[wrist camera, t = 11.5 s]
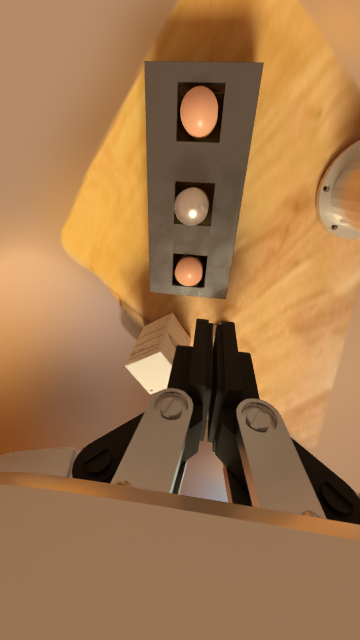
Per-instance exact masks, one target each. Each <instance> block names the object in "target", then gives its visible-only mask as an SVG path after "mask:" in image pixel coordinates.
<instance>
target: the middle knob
mask: <svg viewBox="0 0 360 640" xmlns="http://www.w3.org/2000/svg"><path fill="white" fill-rule="evenodd" d="M208 208H209V200H208V197H207V195H206V193H205V192H204V191H203V190H202V189H200V188H197V187H190V188H187V189H185V190H183V191H182V192H181V193H179V195H178V196H177V198H176V200H175V204H174V210H175V214H176V216H177V218H178V220H179V221H180V222H182V223H183V224H185V225H188V226H194V225H197V224H199V223H201V222H202V221H203V220H204V219H205V217H206V215H207V213H208Z"/></svg>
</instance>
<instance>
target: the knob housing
mask: <svg viewBox="0 0 360 640" xmlns="http://www.w3.org/2000/svg"><path fill="white" fill-rule="evenodd" d="M263 64H264V63H255V62H164V61H145V98H146V140H147V181H148V222H149V264H150V292H154V293H165V294H176V295H186V296H197V297H208V298H218V299H226V294H227V288H228V282H229V276H230V269H231V263H232V257H233V251H234V245H235V238H236V232H237V226H238V220H239V213H240V207H241V201H242V195H243V188H244V182H245V176H246V170H247V164H248V157H249V151H250V145H251V139H252V132H253V126H254V120H255V114H256V107H257V101H258V95H259V89H260V83H261V76H262V70H263ZM197 86H204V87H207V88H208V89H210V90H211V91H212V92H213V93H225V94H224V104H223V114H222V123H221V133H220V142H219V143H207V142H182V141H177V134H178V101H179V92H180V93H187V92H188V91H189V90H191V89H192V88H194V87H197ZM176 181H181V182H199V183H215V190H214V199H213V209H212V218H211V225H203V224H197V225H194V226H188V225H185V224H183V223H175V210H174V204H175V200H176ZM174 253H176V254H189V255H201V256H208V257H207V266H206V276H205V277H202V278H201V280H200V281H199V282H198V283H197V284H196V285H193V286H184V285H182V284H180V283H179V282H178V281H177V279H176V277H175V275H174V274H173V267H174Z"/></svg>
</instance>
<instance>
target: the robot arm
mask: <svg viewBox="0 0 360 640" xmlns="http://www.w3.org/2000/svg"><path fill="white" fill-rule="evenodd" d="M324 186H326V189H325V190H323V188H324ZM316 211H317V215H318V218H319V220H320V222H321V224H322V225H323V227H324V228H325V229H326V230H327V231H329V232H330V233H332V234H334V235H336V236H338V237H341V238H344V239H360V140H358V141H356V142H354V143H353V144H351V145H350V146H349V147H347V148H346V149H345V150H343V151H342V152H341V153H340V154H339V155H338V156H337V157H336V158H335V159H334V160H333V162H332V163H331V164H330V166H329V167H328V169H327V170H326V172H325V174H324V176H323V177H322V179H321V182H320V185H319V187H318V190H317V196H316ZM332 225H334V226H333V227H332ZM331 227H332V228H331ZM207 416H208V442H212V443H213V452H215V455H216V456H218V458H219V459H220V460H221V461H222V462H223V473H224V479H225V485H226V491H227V497H228V503H227V502H221V501H215V500H209V499H202V498H196V497H190V496H184V495H179V493H180V489H181V485H182V481H183V477H184V473H185V469H186V465H187V460H188V459H189V458H191V457H192V456H193V455H194V454H196V453H197V452H198V446H199V441H204V434H205V429H206V423H207ZM0 640H360V494H359V493H356V492H354V490H353V489H351V487H350V486H349V485H347V483H346V482H344V481H343V480H342V479H341V478H339V477H338V476H337V475H336V474H335V473H333V472H332V471H331V470H330V469H328V468H327V467H326V466H325V465H324V464H323V463H321V462H320V461H319V460H317V459H316V458H315V457H314V456H313V455H311V454H310V453H309V452H308V451H307V450H305V449H304V448H303V447H302V446H301V445H300V444H298V443H297V442H296V441H295V440H293V439H292V438H291V437H290V435H289V433H288V431H287V428H286V426H285V424H284V422H283V419H282V417H281V415H280V414H279V412H278V411H277V410H276V409H275V408H274V407H273V406H272V405H270V404H269V403H267V402H265V401H263V400H260V399H259V394H258V389H257V384H256V379H255V374H254V369H253V364H252V359H251V355H250V353H245V352H238V347H237V339H236V332H235V324H234V322H225V321H222V322H221V324H217V325H216V331H215V338H214V345H213V323H209V320H205V319H197V321H196V329H195V337H194V344H193V347H192V346H183V345H177V346H176V350H175V355H174V359H173V364H172V368H171V372H170V377H169V381H168V386H167V389H163V390H161V391H159V392H157V393H156V394H155V395H154V396H153V397H152V399H151V400H150V403H149V405H148V407H147V409H146V411H145V412H144V413H142V414H141V415H139V416H137V417H135V418H134V419H132V420H130V421H128V422H127V423H125V424H123V425H121V426H120V427H118V428H116V429H114V430H113V431H111V432H109V433H107V434H106V435H104V436H102V437H101V438H99V439H97V440H95V441H94V442H92V443H90V444H89V445H87V446H86V447H85V448H83V449H79V450H75V448H74V447H66V448H54V449H42V450H31V451H20V452H12V453H8V454H4V455H3V456H1V457H0Z"/></svg>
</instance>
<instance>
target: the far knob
mask: <svg viewBox="0 0 360 640" xmlns="http://www.w3.org/2000/svg"><path fill="white" fill-rule="evenodd" d="M202 272H203V263H202V261H201V259H200V258H199V257H198V256H196V255H189V254H187V255H184V256H183V257H181V258H180V260H179V262H178V264H177V266H176V269H175V277H176V279H177V281H178V282H179V283H180V284H182V285H184V286H193V285H196V284H197V283H198V282H199V281H200V280H201V278H202Z"/></svg>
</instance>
